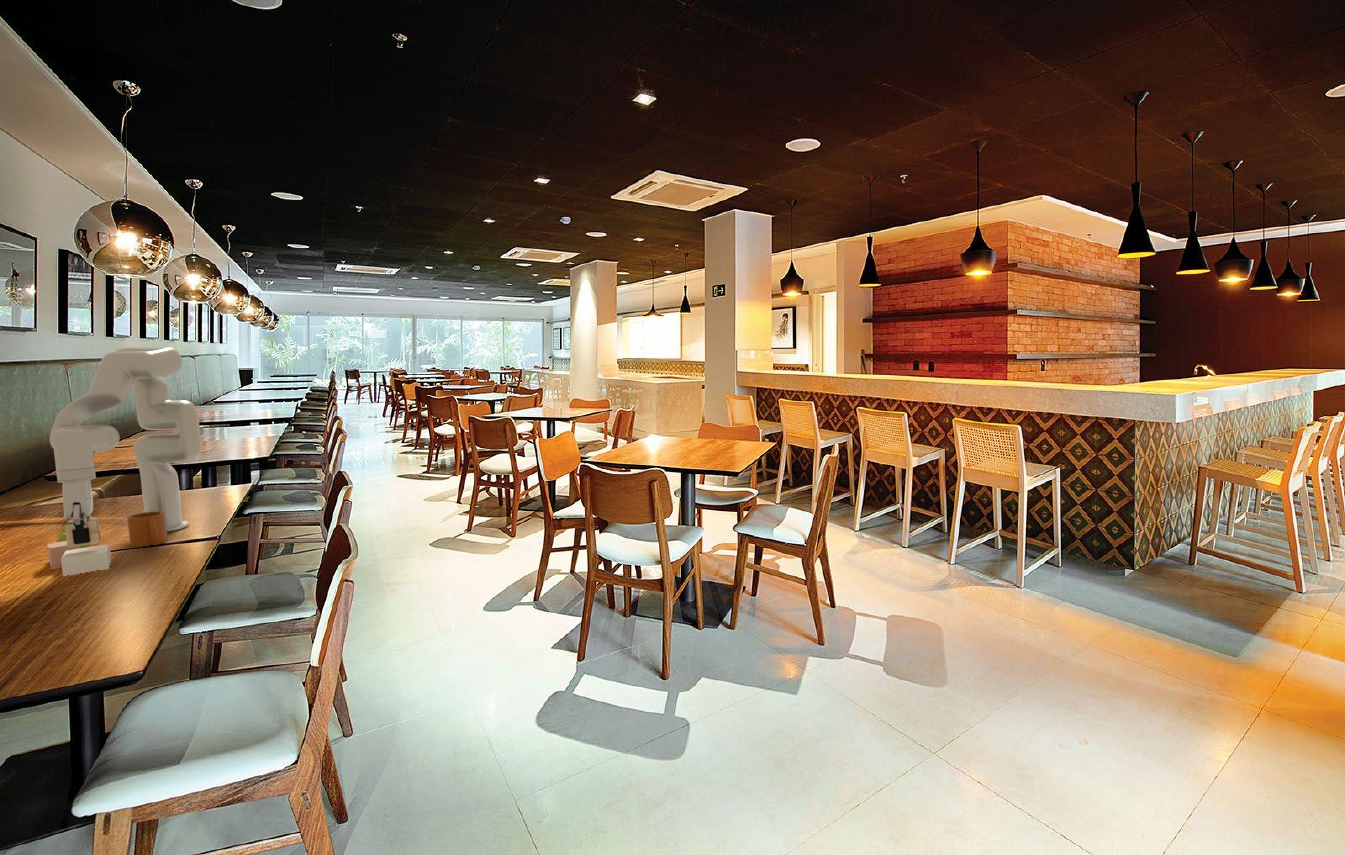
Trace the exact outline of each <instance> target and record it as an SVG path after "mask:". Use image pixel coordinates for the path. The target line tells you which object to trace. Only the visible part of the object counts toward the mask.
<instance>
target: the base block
mask: <svg viewBox="0 0 1345 855" xmlns="http://www.w3.org/2000/svg"><path fill="white" fill-rule="evenodd" d="M61 563H62V568H61V569H62V576H63V577H67V575H69V576H75V575H80V573H82V574H86V573H85V572H88V573H91V572H90V571H94V570H100V571H104V570H110V567H109V566H111V564H110V563H112V554H111V546H110V543H109V544H102V545H95V546H89V547H87V548H80V549H73V550H66V551H65V553H64V555H63V556H62V558H61ZM94 572H95V571H94Z"/></svg>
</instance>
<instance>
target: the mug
mask: <svg viewBox="0 0 1345 855" xmlns="http://www.w3.org/2000/svg"><path fill="white" fill-rule="evenodd" d="M126 520H127V526H128V528H127V529H128V536H129V543H130V545H129V546H130V547H131V548H144V547H143V546H146V547H150V546H149V545H155V546H157V545H161V544H164V543H165V541H166V542H168V532H167V531H166V522H165V513H164V512H161V511H156V512H145V511H144V512H140V513H135V514H131V515H129V516H127V519H126ZM163 542H164V543H163ZM156 544H157V545H156Z"/></svg>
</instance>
